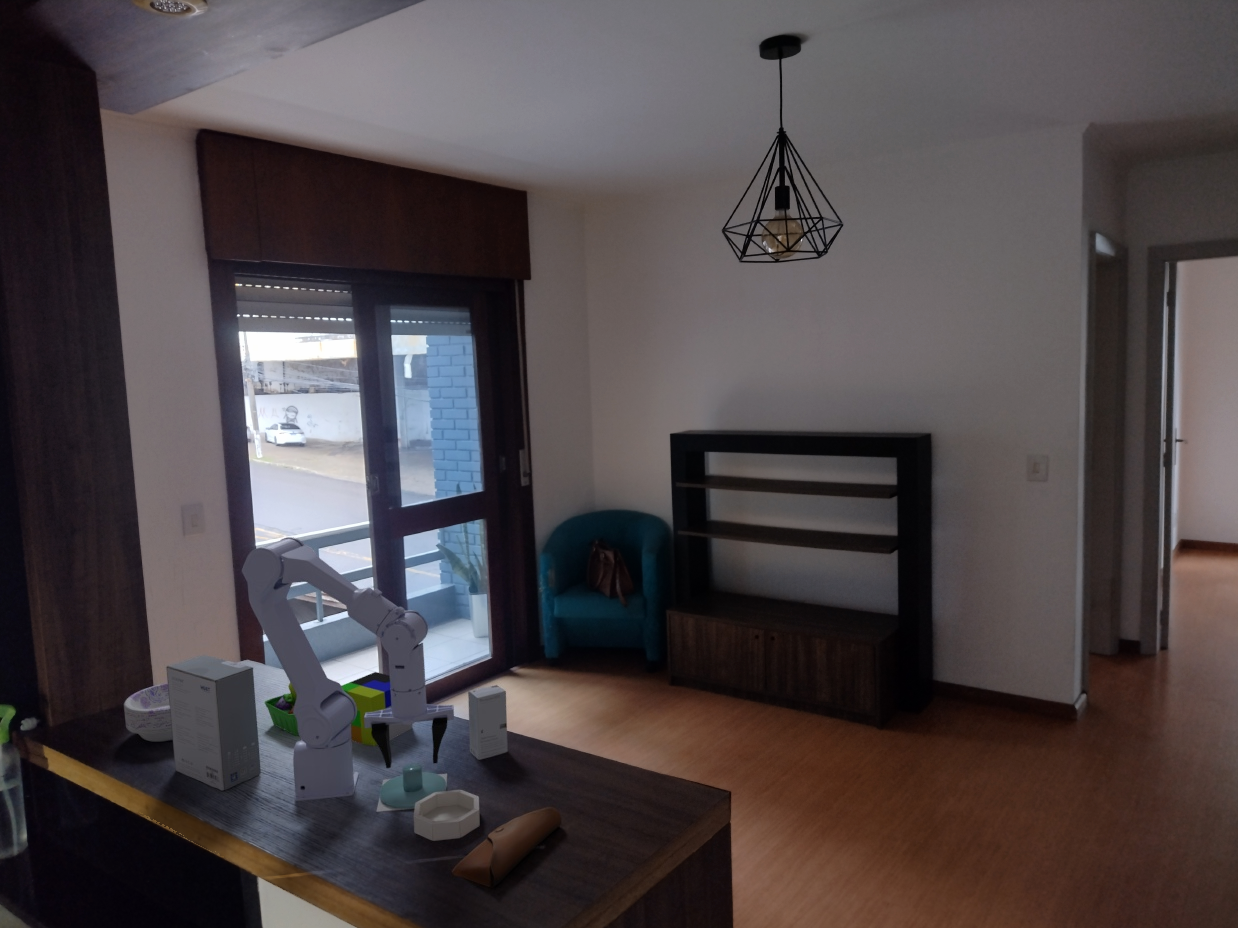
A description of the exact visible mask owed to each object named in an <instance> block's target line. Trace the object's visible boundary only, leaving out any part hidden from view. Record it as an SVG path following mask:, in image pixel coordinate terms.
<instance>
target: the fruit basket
mask: <svg viewBox="0 0 1238 928" xmlns="http://www.w3.org/2000/svg"><path fill="white" fill-rule="evenodd" d="M288 690H289V692H290V693H283V694H282V695H280V696H277V697H272V698H269V699H267V700H265V701H264V704H265V707H266V708H267V711H268V712H269V716H270V718H271V721H272V724H273V725H274V726H275V727H278V728H279V729H281V730H284V731H286V732H288V733H289V734H291V735H293V736H299V733H298V724H297V719H296V717H295V715H294V713H293V711H294V706H295V702H296V698H297V694H296V692H295V690H294V688H293V686H292V684H291V683H290V682H289V684H288Z"/></svg>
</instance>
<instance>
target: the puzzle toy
mask: <svg viewBox="0 0 1238 928" xmlns="http://www.w3.org/2000/svg"><path fill="white" fill-rule="evenodd" d="M341 687H342V689H343V690H344V691H345V692H346V693H347V694H348V695H349V696H351V697H352V698H353V700H354V701H355V703H356V706H357V715H356V718H355V720H354V721H353V722H352V723H351V740H352V742H355V741H356V742H355V743H358V742H359V743H358V744H361V743H362V744H361V745H364V744H365V745H364V746H372V747H374V746H378V745H377V743H376V742H375V740H374V739H373V737H372V735H371V731H372V727H371V728H365V724H364V716H365V713H368V712H375V711H380V710H384V709H389V708H392V706H391V689H390V674H389V675H388V674H386V673H385V674H384V673H381V672H377V671H374V672H372V673H370V674H367V675H364V676H362V677H359V678H357V679H355V680H352V681H350V682H348V683H344V684H342V685H341ZM412 729H413V724H406V725H403V724H402V723H399V724H389V739H390V740H392V739H394V738H396V737H398V736H400V735H402V734H404V733H407V732H409V731H410V730H412ZM399 734H400V735H399ZM397 735H398V736H397ZM393 737H394V738H393Z"/></svg>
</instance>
